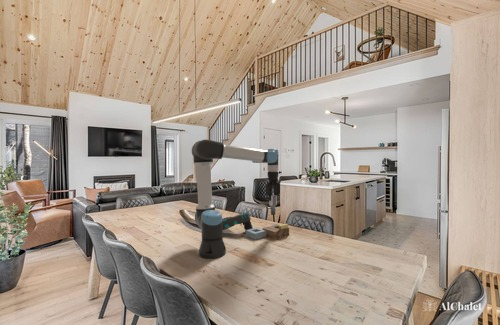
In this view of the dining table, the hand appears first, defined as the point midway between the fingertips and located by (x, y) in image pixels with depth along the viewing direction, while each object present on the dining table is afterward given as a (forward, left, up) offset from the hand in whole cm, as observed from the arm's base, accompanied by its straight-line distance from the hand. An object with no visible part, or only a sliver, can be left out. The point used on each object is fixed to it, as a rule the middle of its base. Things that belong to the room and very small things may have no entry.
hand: (272, 204), depth 168 cm
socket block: (+1, -1, -21) cm, 21 cm away
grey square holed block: (-11, +6, -21) cm, 24 cm away
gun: (-18, +25, -21) cm, 37 cm away
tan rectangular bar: (+4, -6, -16) cm, 17 cm away
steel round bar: (0, 0, -7) cm, 7 cm away
